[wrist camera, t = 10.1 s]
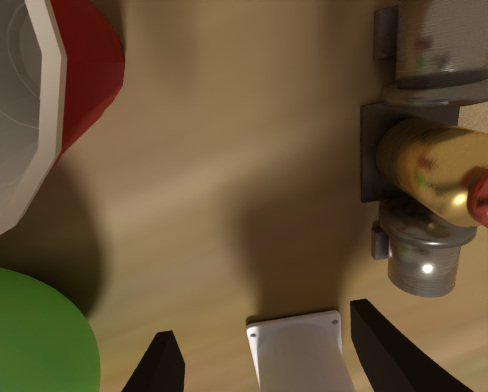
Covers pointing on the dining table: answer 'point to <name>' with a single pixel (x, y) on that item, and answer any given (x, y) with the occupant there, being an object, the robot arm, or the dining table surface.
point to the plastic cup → (49, 89)
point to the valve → (439, 168)
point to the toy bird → (44, 339)
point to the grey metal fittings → (429, 107)
